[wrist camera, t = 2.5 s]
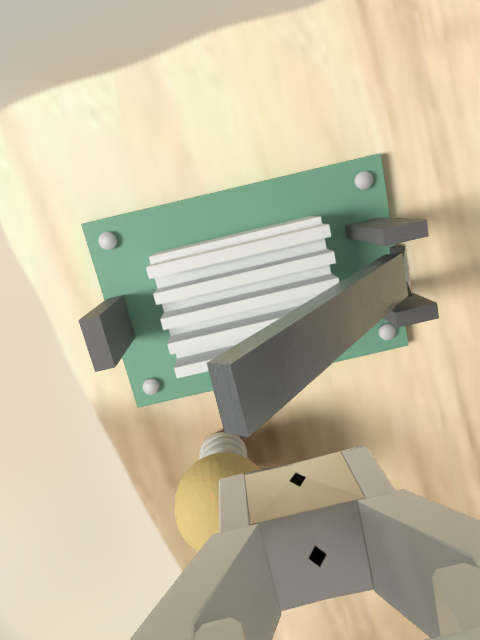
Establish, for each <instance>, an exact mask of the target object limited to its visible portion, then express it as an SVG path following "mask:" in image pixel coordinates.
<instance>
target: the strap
mask: <svg viewBox="0 0 480 640" xmlns="http://www.w3.org/2000/svg"><path fill="white" fill-rule="evenodd" d="M389 249H390V254H386V255H383V256H382V257H380V258H378V259H377V260H375V261H373V262H372V263H370V264H368V265H367V266H365V267H364V268H362V269H360V270H359V271H357V272H355V273H354V274H352V275H350V276H349V277H347V278H345V279H344V280H342V281H340V282H339V283H337V284H336V285H334V286H332V287H331V288H329V289H327V290H326V291H324V292H322V293H321V294H319V295H317V296H316V297H314V298H312V299H311V300H309V301H308V302H306V303H304V304H303V305H301V306H299V307H298V308H296V309H294V310H293V311H291V312H289V313H288V314H286V315H285V316H283V317H281V318H280V319H278V320H276V321H275V322H273V323H271V324H270V325H268V326H266V327H265V328H263V329H261V330H260V331H258V332H257V333H255V334H253V335H252V336H250V337H248V338H247V339H245V340H243V341H242V342H240V343H238V344H237V345H235V346H233V347H232V348H230V349H229V350H227V351H225V352H224V353H222V354H220V355H219V356H217V357H215V358H214V359H212V360H210V361H209V362H207V367H208V371H209V375H210V378H211V382H212V386H213V390H214V394H215V398H216V401H217V405H218V409H219V413H220V417H221V421H222V424H223V428H224V432H225V433H227V434H232V435H238V436H243V437H250V436H251V435H252V434H253V433H254V432H255V431H256V430H258V429H259V428H260V427H261V426H262V425H263V424H264V423H265V422H267V421H268V420H269V419H270V418H271V417H272V416H273V415H274V414H276V413H277V412H278V411H279V410H280V409H281V408H282V407H283V406H285V405H286V404H287V403H288V402H289V401H290V400H291V399H292V398H294V397H295V396H296V395H297V394H298V393H299V392H300V391H301V390H303V389H304V388H305V387H306V386H307V385H308V384H309V383H310V382H312V381H313V380H314V379H315V378H316V377H317V376H318V375H319V374H321V373H322V372H323V371H324V370H325V369H326V368H327V367H328V366H330V365H331V364H332V363H333V362H334V361H335V360H336V359H337V358H339V357H340V356H341V355H342V354H343V353H344V352H345V351H346V350H348V349H349V348H350V347H351V346H352V345H353V344H354V343H355V342H356V341H358V340H359V339H360V338H361V337H362V336H363V335H364V334H365V333H367V332H368V331H369V330H370V329H371V328H372V327H373V326H374V325H376V324H377V323H378V322H379V321H380V320H381V319H382V318H383V317H385V316H386V315H387V314H388V313H389V312H390V311H391V310H392V309H394V308H395V307H396V306H397V305H398V304H399V303H400V302H401V301H403V300H404V299H405V298H408V297H411V296H412V295H413V294H412V287H411V280H410V273H409V265H408V258H407V251H406V245H396V246H392V247H390V248H389Z"/></svg>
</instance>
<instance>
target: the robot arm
mask: <svg viewBox="0 0 480 640" xmlns="http://www.w3.org/2000/svg"><path fill="white" fill-rule="evenodd" d="M369 590H375V592H376V593H377V594H378V595H379V596H381V597H382V598H383V599H384V600H385V601H387V602H388V603H389V604H390V605H391V606H393V607H394V608H395V609H396V610H398V611H399V612H400V613H401V614H402V615H404V616H405V617H406V618H407V619H409V620H410V621H411V622H412V623H413V624H415V625H416V626H417V627H418V628H419V629H421V630H422V631H423V632H424V633H426V634H427V635H428V636H429V637H430V639H426V640H480V520H477V519H475V518H473V517H470V516H468V515H465V514H463V513H460V512H458V511H455V510H453V509H451V508H448V507H446V506H443V505H441V504H438V503H436V502H433V501H431V500H428V499H426V498H424V497H421V496H419V495H416V494H414V493H411V492H409V491H406V490H404V489H403V490H398V491H396V490H395V489H394V487H393V486H392V484H391V482H390V481H389V479H388V478H387V476H386V475H385V473H384V472H383V470H382V469H381V467H380V466H379V464H378V463H377V461H376V460H375V458H374V457H373V455H372V454H371V452H370V451H369V449H368V448H367V446H365V445H360V446H357V447H353V448H350V449H346V450H342V451H339V452H335V453H331V454H328V455H324V456H320V457H316V458H312V459H308V460H305V461H301V462H297V463H290V464H285V465H280V466H276V467H271V468H266V469H262V470H257V471H252V472H248V473H245V475H244V474H243V473H242V474H238V475H234V476H230V477H226V478H222V479H220V481H219V533H215V534H212V535H211V536H210V538H209V539H208V540H207V541H206V543H205V544H204V545H203V547H202V548H201V549H200V550H199V552H198V553H197V554H196V556H195V557H194V558H193V559H192V561H191V562H190V563H189V564H188V566H187V567H186V568H185V570H184V571H183V572H182V573H181V575H180V576H179V577H178V579H177V580H176V581H175V582H174V584H173V585H172V586H171V587H170V589H169V590H168V591H167V593H166V594H165V595H164V597H163V598H162V599H161V600H160V602H159V603H158V604H157V605H156V607H155V608H154V609H153V610H152V612H151V613H150V614H149V616H148V617H147V618H146V619H145V621H144V622H143V623H142V625H141V626H140V627H139V628H138V630H137V631H136V632H135V633H134V635H133V636H132V637H131V640H272V638H273V635H274V633H275V630H276V627H277V625H278V622H279V619H280V617H281V611H284V610H288V609H291V608H295V607H299V606H303V605H306V604H310V603H314V602H317V601H321V600H325V599H329V598H334V597H339V596H344V595H349V594H354V593H359V592H364V591H369Z"/></svg>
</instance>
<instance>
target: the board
mask: <svg viewBox="0 0 480 640" xmlns="http://www.w3.org/2000/svg"><path fill="white" fill-rule="evenodd" d="M81 225H82V228H83V232H84V235H85V238H86V241H87V245H88V248H89V251H90V254H91V258H92V261H93V264H94V267H95V271H96V274H97V277H98V280H99V284H100V287H101V290H102V293H103V297H104V300H105V301H104V302H102V303H101V304H100V305H98V306H97V307H96V308H94V309H93V310H92V311H90V312H89V313H88V314H86V315H85V316H84V317H83V318H81V319H80V320H79V323H80V326H81V329H82V332H83V336H84V339H85V342H86V345H87V348H88V351H89V354H90V357H91V360H92V363H93V366H94V369H95V372H97V371H101V370H106V369H110V368H114V367H116V365H117V364H118V362H119V361H120V359H121V358H123V362H124V365H125V368H126V371H127V375H128V378H129V381H130V384H131V388H132V391H133V394H134V397H135V400H136V404H137V407H138V408H139V407H143V406H147V405H152V404H156V403H160V402H165V401H169V400H173V399H178V398H182V397H186V396H191V395H195V394H199V393H204V392H208V391H212V390H213V386H212V382H211V378H210V375H209V371H208V367H207V362H209V361H210V360H212V359H214V358H215V357H217V356H219V355H220V354H222V353H224V352H225V351H227V350H229V349H230V348H232V347H233V346H235V345H237V344H238V343H240V342H242V341H243V340H245V339H247V338H248V337H250V336H252V335H253V334H255V333H257V332H258V331H260V330H261V329H263V328H265V327H266V326H268V325H270V324H271V323H273V322H275V321H276V320H278V319H280V318H281V317H283V316H285V315H286V314H288V313H289V312H291V311H293V310H294V309H296V308H298V307H299V306H301V305H303V304H304V303H306V302H308V301H309V300H311V299H312V298H314V297H316V296H317V295H319V294H321V293H322V292H324V291H326V290H327V289H329V288H331V287H332V286H334V285H336V284H337V283H339V282H340V281H342V280H344V279H345V278H347V277H349V276H350V275H352V274H354V273H355V272H357V271H359V270H360V269H362V268H364V267H365V266H367V265H368V264H370V263H372V262H373V261H375V260H377V259H378V258H380V257H382V256H383V255H386V254H390V249H389V248H390V247H392V246H394V244H397V243H401V242H406V241H410V240H414V239H419V238H423V237H427V236H429V235H428V227H427V220H425V219H398V218H390V214H389V207H388V200H387V193H386V186H385V179H384V172H383V166H382V159H381V153H380V154H376V155H371V156H367V157H363V158H359V159H354V160H350V161H346V162H342V163H337V164H333V165H329V166H325V167H321V168H316V169H312V170H308V171H304V172H299V173H295V174H291V175H287V176H283V177H278V178H274V179H270V180H266V181H261V182H257V183H253V184H249V185H244V186H240V187H236V188H232V189H228V190H223V191H219V192H215V193H211V194H206V195H202V196H198V197H194V198H189V199H185V200H181V201H177V202H173V203H168V204H164V205H160V206H156V207H151V208H147V209H143V210H139V211H134V212H130V213H126V214H122V215H118V216H113V217H109V218H105V219H101V220H96V221H92V222H88V223H84V224H81ZM412 294H413V295H412V296H411V297H408V298H405V299H404V300H403V301H401V302H400V303H399V304H398V305H397V306H396V307H395V308H394V309H392V310H391V311H390V312H389V313H388V314H387V315H386V316H385V317H383V318H382V319H381V320H380V321H379V322H378V323H377V324H376V325H374V326H373V327H372V328H371V329H370V330H369V331H368V332H367V333H365V334H364V335H363V336H362V337H361V338H360V339H359V340H358V341H356V342H355V343H354V344H353V345H352V346H351V347H350V348H349V349H348V350H346V351H345V352H344V353H343V354H342V355H341V356H340V357H339V358H337V359H336V360H335V361H334V362H338V361H343V360H347V359H351V358H356V357H360V356H364V355H369V354H373V353H377V352H382V351H386V350H390V349H395V348H399V347H403V346H408V339H407V332H406V326H407V325H412V324H416V323H420V322H425V321H429V320H433V319H438V318H439V315H438V307H437V303H436V302H433V301H431V300H429V299H426V298H424V297H422V296H419V295H417V294H414V293H412ZM334 362H333V363H334Z"/></svg>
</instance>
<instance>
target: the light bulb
mask: <svg viewBox="0 0 480 640" xmlns="http://www.w3.org/2000/svg"><path fill="white" fill-rule="evenodd" d="M257 470H260V469H259V468H258V467H257V466H256V465H255V464H254V463H253V462H252V461H250V460H249V459H248V457H247V449H246V445H245V443H244V442H243V440H242V439H241V438H239V437H238V436H237V435H232V434H227V433H225V432H218V433H215V434H212V435H211V436H209V437H208V438H207V439H206V440H205V441H204V442H203V444H202V446H201V449H200V458H199V461H197V462H196V463H195V464H193V465H192V466H191V467H190V468H189V469H188V471H187V472H186V473H185V475H184V476H183V478H182V480H181V482H180V483H179V486H178V489H177V492H176V497H175V518H176V522H177V526H178V529H179V531H180V533H181V535H182V536H183V538H184V539H185V540H186V541H187V542H188V544H189V545H190V546H192V547H193V548H194V549H196V550H197V551H199V550H200V549H201V548H202V547H203V545H204V544H205V543H206V541H207V540H208V539H209V538H210V536H211V535H212V534H215V533H219V481H220V479H222V478H226V477H230V476H234V475H238V474H242V473H243V474H244V475H245V473H248V472H252V471H257Z"/></svg>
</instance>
